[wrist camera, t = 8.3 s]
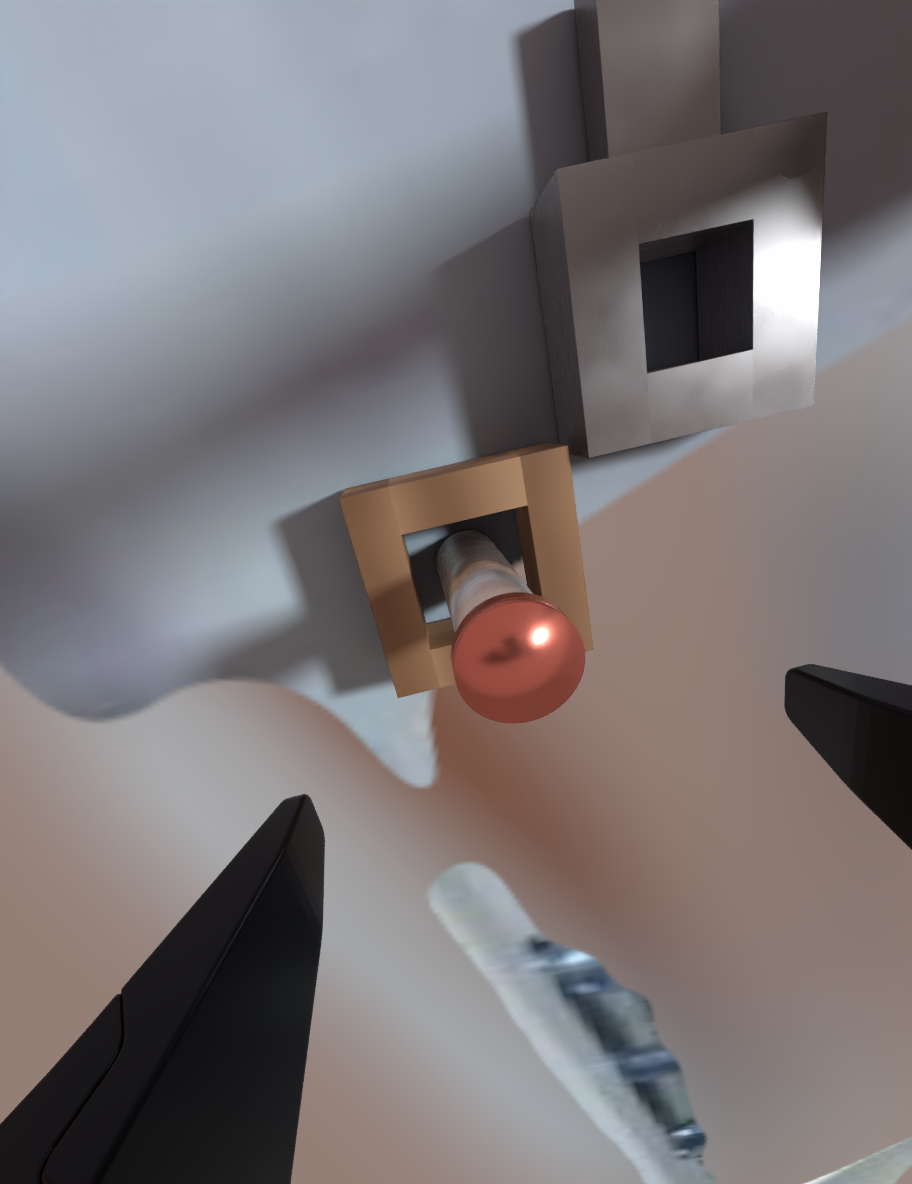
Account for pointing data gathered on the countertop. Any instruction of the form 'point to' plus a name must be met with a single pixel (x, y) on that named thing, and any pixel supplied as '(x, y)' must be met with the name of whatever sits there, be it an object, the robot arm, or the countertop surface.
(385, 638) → the frame
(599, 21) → the block
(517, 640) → the hitch pin
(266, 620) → the countertop surface
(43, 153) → the countertop surface
